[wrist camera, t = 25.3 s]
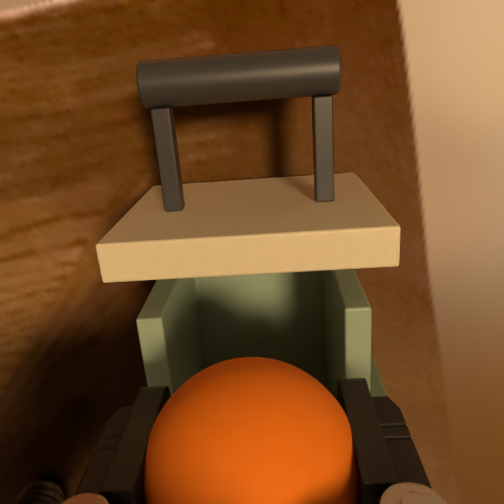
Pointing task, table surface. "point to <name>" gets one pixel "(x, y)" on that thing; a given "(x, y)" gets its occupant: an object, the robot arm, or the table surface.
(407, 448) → the robot arm
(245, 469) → the ball
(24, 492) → the light bulb
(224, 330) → the drawer
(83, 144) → the table surface
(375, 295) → the table surface
